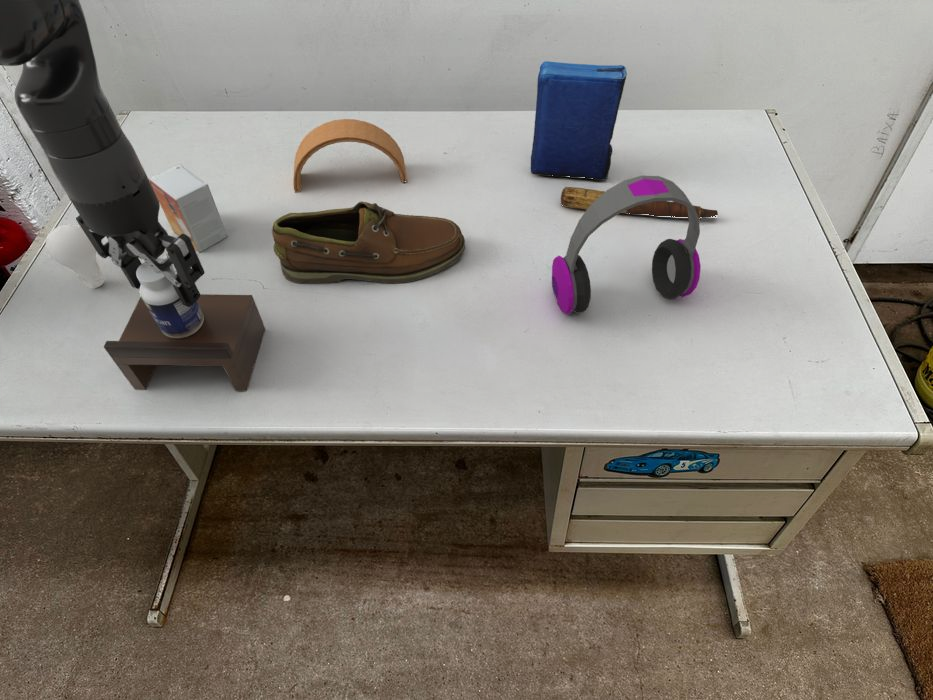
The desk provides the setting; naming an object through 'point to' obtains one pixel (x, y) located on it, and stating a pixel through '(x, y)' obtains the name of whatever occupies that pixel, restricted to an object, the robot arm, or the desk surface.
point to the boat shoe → (364, 245)
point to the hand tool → (657, 208)
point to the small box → (189, 206)
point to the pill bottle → (167, 304)
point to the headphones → (671, 258)
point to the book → (576, 119)
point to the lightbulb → (75, 253)
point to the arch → (346, 133)
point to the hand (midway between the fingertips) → (166, 292)
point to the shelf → (193, 341)
